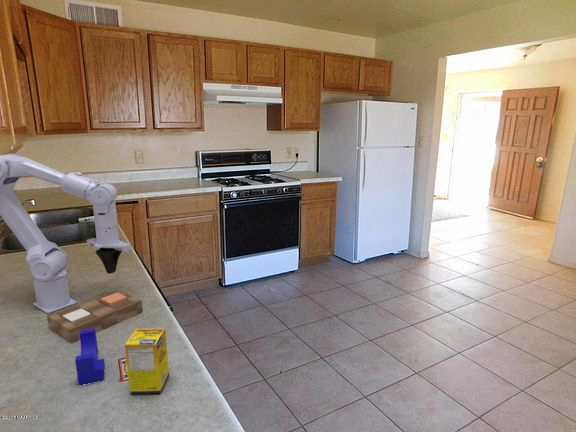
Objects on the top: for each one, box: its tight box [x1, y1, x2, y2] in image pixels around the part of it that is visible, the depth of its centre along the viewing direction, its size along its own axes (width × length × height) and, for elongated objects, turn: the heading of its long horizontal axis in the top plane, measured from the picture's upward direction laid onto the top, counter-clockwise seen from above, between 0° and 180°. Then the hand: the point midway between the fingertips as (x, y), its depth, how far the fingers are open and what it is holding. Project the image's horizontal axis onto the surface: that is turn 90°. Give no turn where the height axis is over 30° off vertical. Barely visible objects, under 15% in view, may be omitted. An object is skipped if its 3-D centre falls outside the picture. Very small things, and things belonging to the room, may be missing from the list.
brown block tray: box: [46, 289, 143, 344], centre depth 99 cm, size 12×19×4 cm, turn 145°
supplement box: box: [124, 327, 170, 395], centre depth 73 cm, size 6×6×11 cm
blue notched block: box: [74, 328, 106, 386], centre depth 79 cm, size 12×4×6 cm, turn 25°
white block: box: [62, 309, 91, 323], centre depth 95 cm, size 5×5×4 cm
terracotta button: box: [101, 293, 127, 307], centre depth 103 cm, size 5×5×4 cm
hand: (111, 272), depth 108 cm, fingers closed
